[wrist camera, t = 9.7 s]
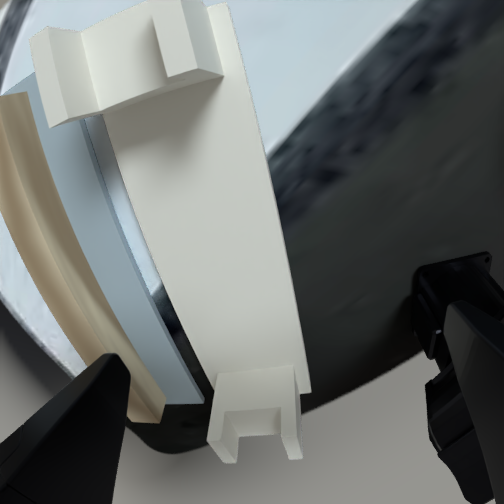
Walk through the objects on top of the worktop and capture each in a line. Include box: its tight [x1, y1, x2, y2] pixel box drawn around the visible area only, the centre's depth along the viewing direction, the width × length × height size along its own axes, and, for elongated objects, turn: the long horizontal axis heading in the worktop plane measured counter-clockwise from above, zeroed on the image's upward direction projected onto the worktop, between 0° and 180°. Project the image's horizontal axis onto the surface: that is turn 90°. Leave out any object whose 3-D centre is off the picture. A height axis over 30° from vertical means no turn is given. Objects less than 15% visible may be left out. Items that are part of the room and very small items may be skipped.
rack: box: [29, 0, 311, 463], centre depth 17 cm, size 8×28×8 cm, turn 13°
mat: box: [2, 72, 205, 404], centre depth 22 cm, size 10×30×1 cm, turn 13°
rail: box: [0, 91, 167, 423], centre depth 20 cm, size 3×28×3 cm, turn 13°
